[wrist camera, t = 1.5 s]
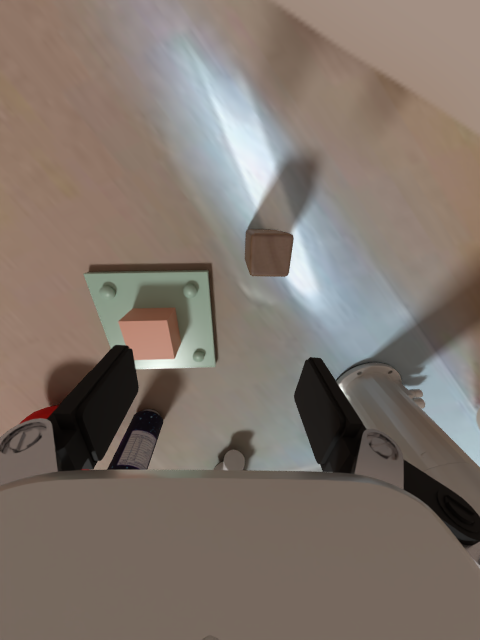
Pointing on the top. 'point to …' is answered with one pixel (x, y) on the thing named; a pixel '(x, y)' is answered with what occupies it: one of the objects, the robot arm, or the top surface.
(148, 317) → the brick
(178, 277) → the baseplate
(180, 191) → the top surface
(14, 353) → the top surface
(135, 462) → the beverage can
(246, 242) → the wooden block
